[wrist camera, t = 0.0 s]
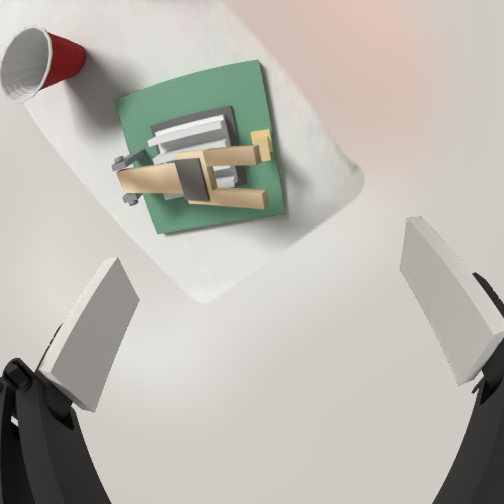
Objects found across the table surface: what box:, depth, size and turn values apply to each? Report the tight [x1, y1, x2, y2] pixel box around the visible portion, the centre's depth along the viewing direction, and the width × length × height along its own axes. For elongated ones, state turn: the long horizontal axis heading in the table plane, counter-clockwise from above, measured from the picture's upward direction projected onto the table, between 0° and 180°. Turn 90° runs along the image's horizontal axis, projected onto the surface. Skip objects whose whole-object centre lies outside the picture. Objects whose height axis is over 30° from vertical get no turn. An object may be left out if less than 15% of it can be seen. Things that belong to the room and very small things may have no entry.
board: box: [112, 60, 285, 234], centre depth 32 cm, size 22×20×9 cm
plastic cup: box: [0, 25, 85, 104], centre depth 22 cm, size 11×11×12 cm
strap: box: [116, 145, 269, 210], centre depth 26 cm, size 5×20×1 cm, turn 100°
